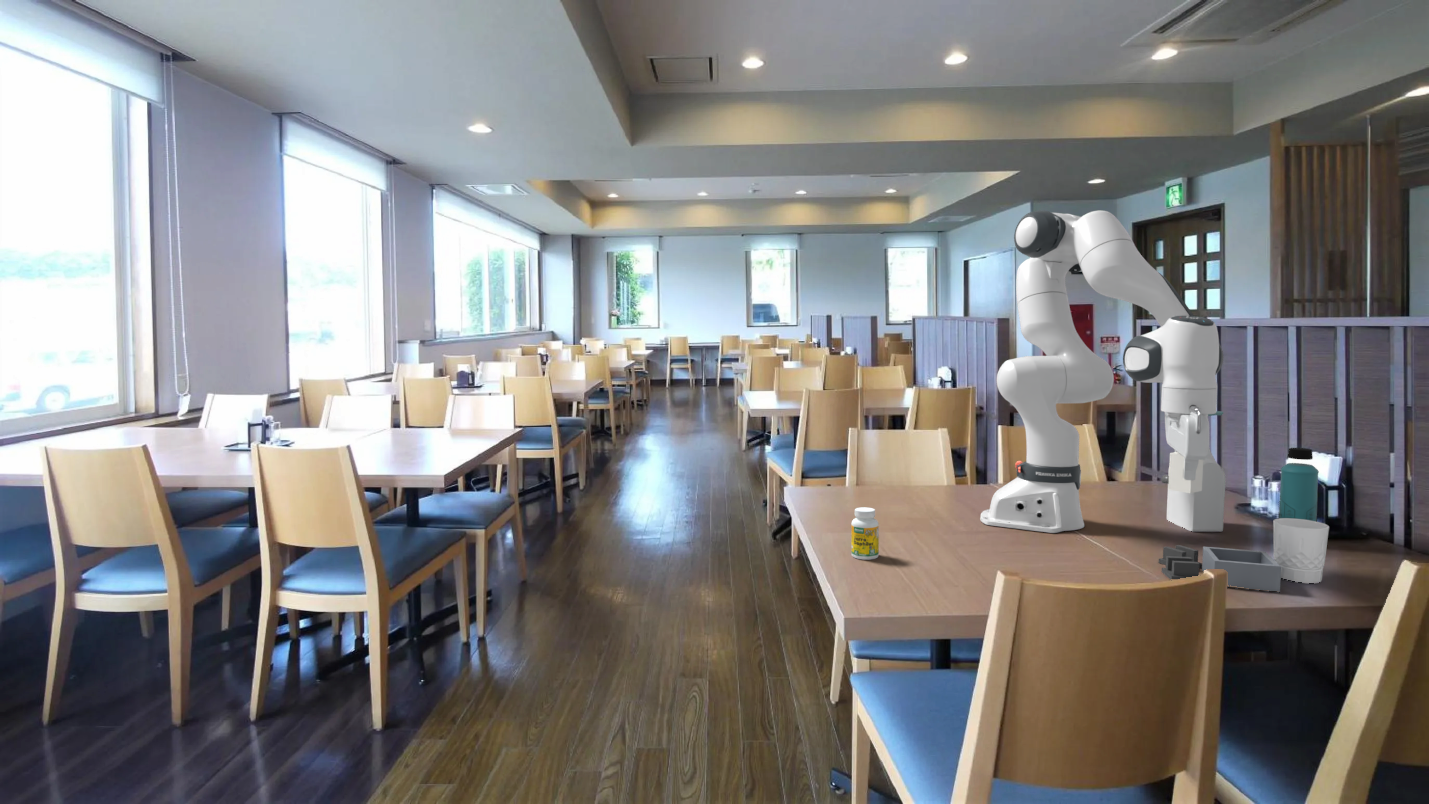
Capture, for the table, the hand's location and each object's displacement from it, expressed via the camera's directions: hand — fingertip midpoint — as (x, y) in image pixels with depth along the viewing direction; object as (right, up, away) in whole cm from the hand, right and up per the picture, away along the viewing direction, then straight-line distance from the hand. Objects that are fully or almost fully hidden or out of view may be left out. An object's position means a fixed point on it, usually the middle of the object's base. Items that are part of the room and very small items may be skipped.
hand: (1185, 476), depth 144 cm
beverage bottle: (+33, -16, +16) cm, 40 cm away
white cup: (+16, -18, -7) cm, 25 cm away
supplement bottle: (-59, -17, +9) cm, 62 cm away
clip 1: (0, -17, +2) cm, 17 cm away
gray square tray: (+5, -18, -8) cm, 20 cm away
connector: (0, -3, 0) cm, 3 cm away
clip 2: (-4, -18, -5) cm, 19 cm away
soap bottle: (+22, -15, +30) cm, 40 cm away
